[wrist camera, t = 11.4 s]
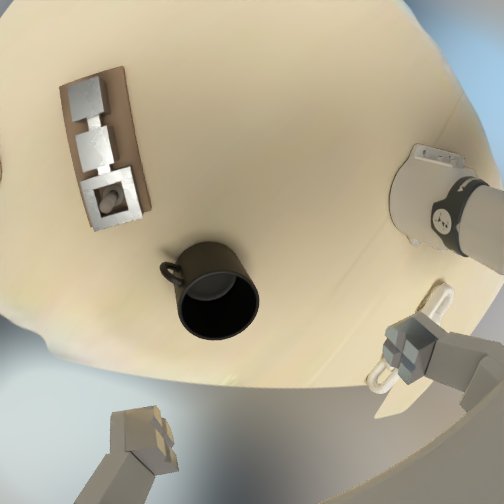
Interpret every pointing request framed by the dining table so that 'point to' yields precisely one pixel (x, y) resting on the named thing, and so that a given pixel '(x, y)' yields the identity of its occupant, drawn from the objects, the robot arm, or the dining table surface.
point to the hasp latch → (101, 154)
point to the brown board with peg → (124, 137)
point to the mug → (212, 291)
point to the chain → (431, 309)
